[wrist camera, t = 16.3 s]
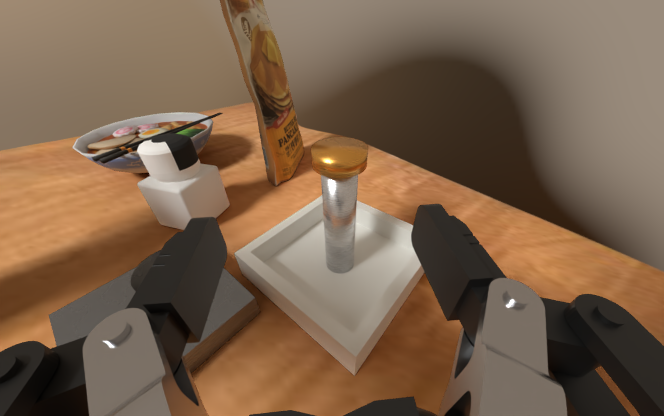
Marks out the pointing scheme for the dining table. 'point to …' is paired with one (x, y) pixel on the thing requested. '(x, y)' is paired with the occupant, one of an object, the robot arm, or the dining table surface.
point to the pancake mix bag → (266, 86)
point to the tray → (336, 278)
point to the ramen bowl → (140, 138)
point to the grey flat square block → (88, 311)
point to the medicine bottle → (179, 181)
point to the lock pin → (339, 196)
